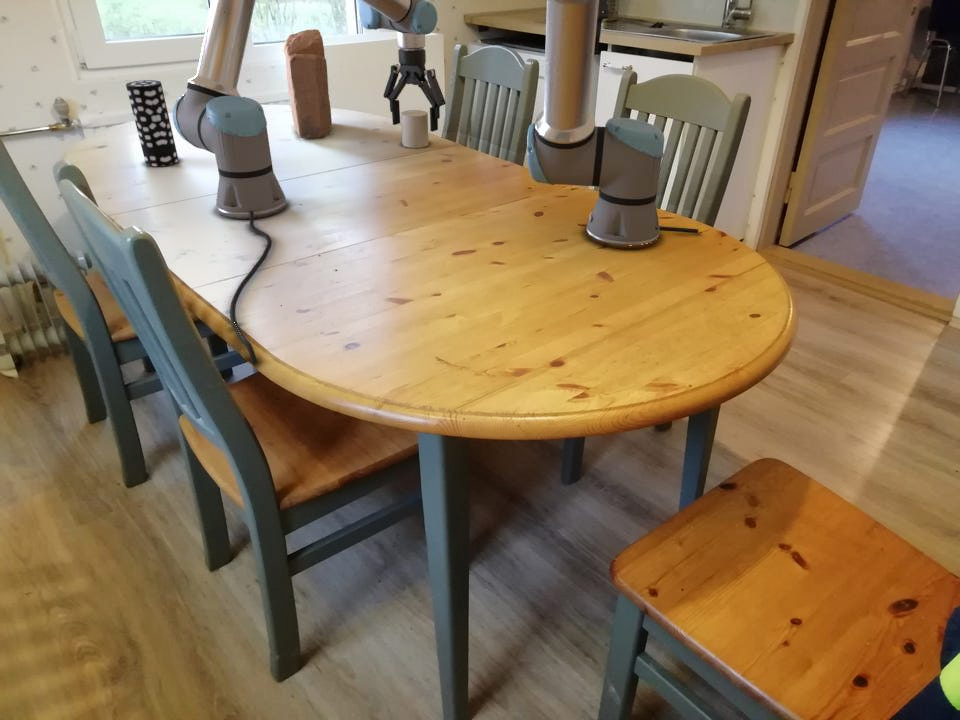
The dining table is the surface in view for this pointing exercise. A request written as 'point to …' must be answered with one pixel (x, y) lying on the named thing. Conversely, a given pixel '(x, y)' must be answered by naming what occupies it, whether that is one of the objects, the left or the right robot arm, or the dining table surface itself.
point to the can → (414, 128)
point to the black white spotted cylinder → (152, 122)
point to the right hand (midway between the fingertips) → (576, 49)
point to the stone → (308, 83)
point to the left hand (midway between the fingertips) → (415, 127)
